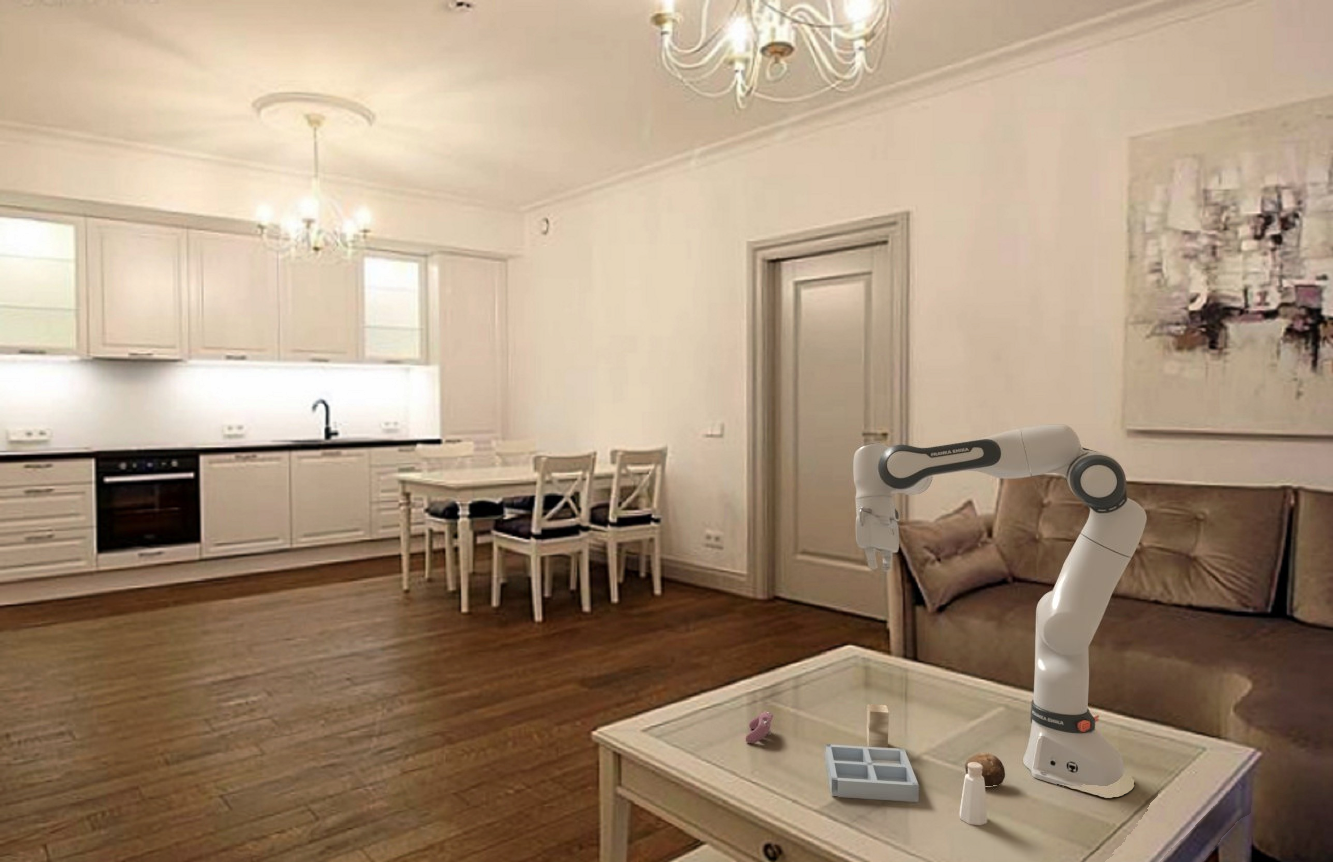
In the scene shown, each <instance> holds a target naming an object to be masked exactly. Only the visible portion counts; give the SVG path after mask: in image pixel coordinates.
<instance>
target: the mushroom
mask: <svg viewBox="0 0 1333 862" xmlns="http://www.w3.org/2000/svg"><path fill="white" fill-rule="evenodd" d="M970 762H976V763H979V764H981V765H982V766H983V769H982V776H983V777H984V782H985V786H993V785H999V784H1000V785H1001V784H1002V783H1003V782H1004V780H1005V778H1006V772H1005V771H1006V770H1005V766H1004V764H1003V763H1002V761H1001V759H999V758H998V757H997V756H996V755H994V754H992V753H986V752H980V753H977V754H973V755H972V756H971V757H969V758H968V759H967V761H966V763H965V764H964V768H965V773H966V774H968V763H970ZM1000 785H999V786H1000Z"/></svg>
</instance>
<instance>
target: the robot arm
mask: <svg viewBox="0 0 1333 862" xmlns="http://www.w3.org/2000/svg"><path fill="white" fill-rule="evenodd" d="M1079 438H1080V437H1079V436H1078V435H1077V433H1076V432H1075V430H1074V429H1073V428H1072V427H1070V426H1068V425H1066V424H1042V425H1032V426H1027V427H1021V428H1020V427H1019V428H1016V429H1011V430H1007V431H1003V432H998V433H996V434H992V435H989V436H984V437H981V438H978V439H974V440H973V439H972V440H970V441H963V442H962V441H961V442H957V443H949V444H944V445H943V444H942V445H936V446H931V447H918V446H912V445H908V444H896V445H893V446H888V445H886V444H885V443H883V442H872V443H868V444H864V445H863V446H861V447H859V448H858V449H857V450H856V451H855V452H854V455H853V463H852V464H853V465H852V466H853V467H852V470H853V471H852V472H853V473H852V474H853V484H854V486H855V492H856V493H855V498H854V499H855V500H854V501H855V510H856V511H855V512H856V513H855V514H856V518H855V541H856V545H857V547H858V548H862V549H864V554H865V557H866V560H867V566H868V568H869V569H872V570H873V569H874V570H875V569H878V567H879V565H878V560H877V556H876V553H877V552H878V553H881V558H882V563H881V570H882V571H883V572H891V571H892V559H893V553H898V552H899V548H900V533H899V532H900V531H899V524H898V522H899V521H900V513H899V512H898V510H897V509H896V507H895V504H894V503H895V502H894V494H899V495H907V496H915V495H919V494H922V493H923V492H926V490H928V488H929V487H930V486H931V483H932V480H933V476H937V475H938V476H939V475H945V474H951V473H958V472H968V471H969V472H972V471H973V472H978V473H983V474H987V475H989V476H992V477H995V478H996V479H1007V480H1008V479H1023V478H1030V477H1035V476H1039V475H1045V474H1057V475H1060V476H1062V477H1063V478H1064V479H1065V480H1066V482H1067V485H1068V488H1069V490H1070V491H1071V492H1072V493H1073V495H1075V496H1076V497H1077V498H1078V499H1079V500H1081V501H1082V502H1083V503H1084V504H1085V506H1087V507H1089V516H1088V518H1087V521H1086V523H1085V525H1084V526H1083V528H1082V529H1081V531H1080V533H1079V535H1078V537H1077V538H1076V539H1075V542H1074V544H1073V545H1072V548H1071V549H1070V551H1069V554H1068V555H1067V557H1066V559H1065V560H1064V563H1063V565H1062V567H1061V571H1060V573H1059V575H1058V577H1057V579H1056V583H1055V584H1054V587H1053V589H1052V590H1050V591H1048V592H1047V593H1045V594H1043V596H1042V597H1041V598H1040V600H1039V601H1038V602H1037V605H1036V609H1035V638H1034V639H1035V642H1034V643H1035V644H1034V645H1035V650H1034V654H1035V655H1034V678H1033V679H1034V684H1033V699H1032V700H1031V703H1030V723H1031V726H1030V731H1029V732H1030V734H1029V739H1028V742H1027V743H1028V744H1027V747H1026V751H1025V753H1024V756H1023V759H1022V762H1023V764H1024V765H1025V767H1026V768H1027V769H1029V770H1030V772H1031V776H1032V777H1033V778H1034V779H1036V780H1037V779H1038V780H1041V781H1045V782H1048V783H1051V784H1054V785H1057V784H1064V785H1070V786H1079V787H1082V786H1081V785H1083V784H1085V785H1098V786H1108V785H1110V784H1113V783H1115V782H1117V781H1118V780H1119V779H1120V778H1121V777H1122V776H1123V774H1124V773H1125V770H1124V769H1125V767H1124V762H1123V757H1122V754H1121V752H1119V751H1118V749H1117V748H1116V747H1115V746H1114V745H1112V744H1111V743H1110V742H1109V741H1108V739H1106V738H1105V736H1104V735H1102V734H1101V733H1100V732H1099V731H1098V729H1096V723H1097V722H1098V721H1099V720H1100V719H1099V717H1100V715H1095V716H1093V714H1092V713H1091V711H1090V710H1089V707H1088V703H1089V687H1090V685H1089V684H1090V683H1089V682H1090V681H1089V680H1090V666H1089V665H1090V663H1089V662H1090V660H1089V654H1090V653H1089V652H1090V651H1089V646H1090V644H1091V643H1092V641H1093V639H1094V636H1095V634H1096V633H1097V630H1098V628H1099V626H1100V623H1101V621H1102V620H1103V617H1104V614H1105V612H1106V610H1107V607H1108V605H1109V603H1110V600H1111V597H1112V596H1113V595H1112V594H1113V593H1114V590H1115V588H1116V586H1117V585H1118V582H1119V581H1120V579H1121V577H1122V575H1123V573H1124V572H1125V570H1126V568H1127V566H1128V564H1129V563H1130V561H1131V559H1132V557H1133V556H1134V554H1135V552H1136V550H1137V548H1138V546H1139V543H1140V541H1141V539H1142V536H1143V533H1144V530H1145V527H1146V524H1147V519H1148V518H1147V513H1146V511H1145V509H1144V508H1143V507H1142V506H1141V505H1140V504H1139V503H1138V502H1136V501H1135V500H1134V499H1132V498H1129V497H1128V490H1127V478H1126V477H1127V476H1126V474H1125V471H1124V469H1123V468H1122V466H1121V464H1120V463H1119V461H1117V460H1116V459H1115V458H1114V457H1112V456H1111V455H1109V454H1108V453H1104V452H1100V451H1096V450H1093V449H1089V448H1086V447H1083V446H1082V444H1081V441H1080V439H1079Z"/></svg>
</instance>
